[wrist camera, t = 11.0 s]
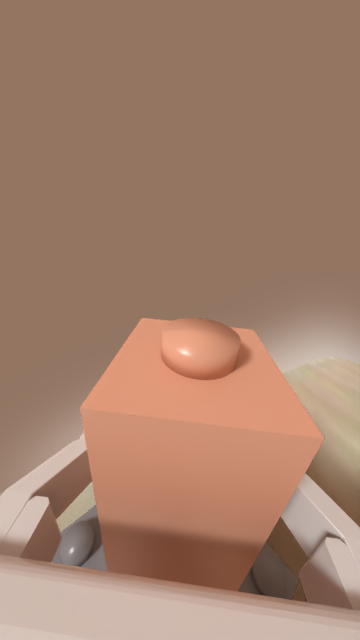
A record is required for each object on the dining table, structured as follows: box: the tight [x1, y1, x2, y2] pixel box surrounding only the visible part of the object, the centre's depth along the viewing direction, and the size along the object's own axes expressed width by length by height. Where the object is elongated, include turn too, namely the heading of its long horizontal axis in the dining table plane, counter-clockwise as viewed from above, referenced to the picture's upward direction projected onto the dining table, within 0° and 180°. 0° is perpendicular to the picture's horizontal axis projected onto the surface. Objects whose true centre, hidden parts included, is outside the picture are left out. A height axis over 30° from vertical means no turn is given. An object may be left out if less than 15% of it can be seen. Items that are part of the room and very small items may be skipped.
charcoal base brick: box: [52, 505, 299, 600], centre depth 13 cm, size 12×12×5 cm
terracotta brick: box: [80, 318, 325, 591], centre depth 8 cm, size 5×5×11 cm
